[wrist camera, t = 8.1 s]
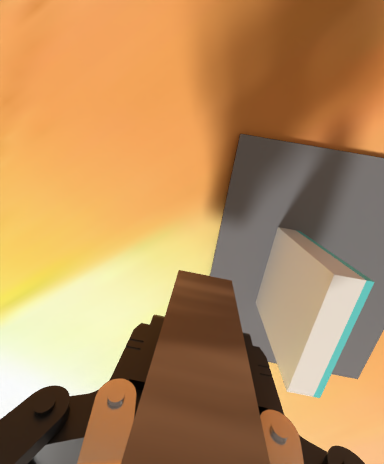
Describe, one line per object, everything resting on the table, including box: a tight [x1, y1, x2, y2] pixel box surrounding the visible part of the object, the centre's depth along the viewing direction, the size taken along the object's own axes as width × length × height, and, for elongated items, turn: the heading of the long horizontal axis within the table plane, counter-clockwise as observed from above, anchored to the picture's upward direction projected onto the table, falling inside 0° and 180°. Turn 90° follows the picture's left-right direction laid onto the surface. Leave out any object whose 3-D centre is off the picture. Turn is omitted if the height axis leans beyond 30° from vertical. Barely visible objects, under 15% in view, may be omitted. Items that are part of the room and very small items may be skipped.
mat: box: [210, 134, 384, 379], centre depth 21 cm, size 22×18×1 cm
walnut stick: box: [121, 270, 270, 464], centre depth 9 cm, size 4×4×12 cm
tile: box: [256, 227, 374, 398], centre depth 16 cm, size 8×2×9 cm, turn 170°
